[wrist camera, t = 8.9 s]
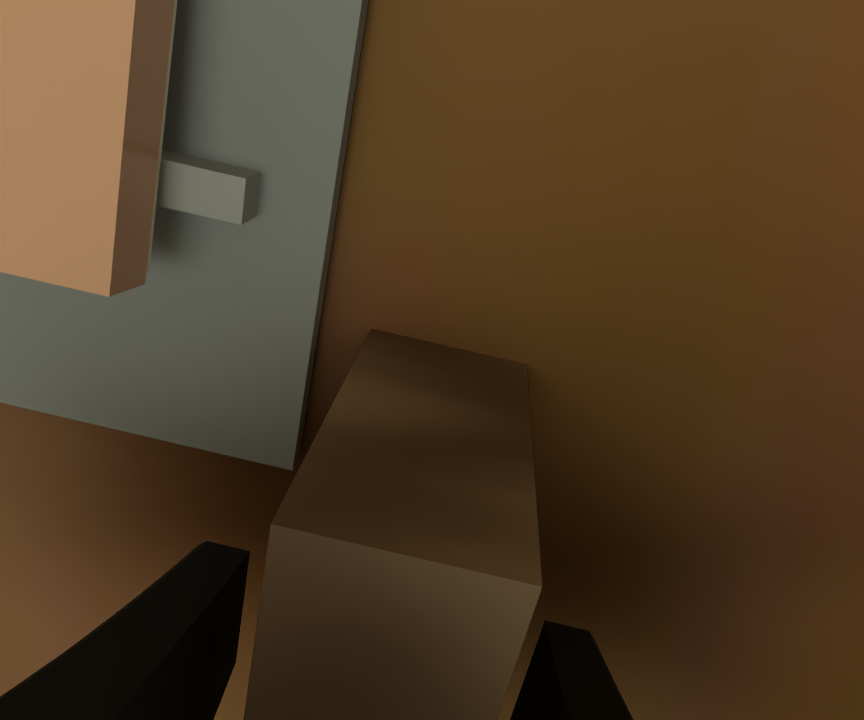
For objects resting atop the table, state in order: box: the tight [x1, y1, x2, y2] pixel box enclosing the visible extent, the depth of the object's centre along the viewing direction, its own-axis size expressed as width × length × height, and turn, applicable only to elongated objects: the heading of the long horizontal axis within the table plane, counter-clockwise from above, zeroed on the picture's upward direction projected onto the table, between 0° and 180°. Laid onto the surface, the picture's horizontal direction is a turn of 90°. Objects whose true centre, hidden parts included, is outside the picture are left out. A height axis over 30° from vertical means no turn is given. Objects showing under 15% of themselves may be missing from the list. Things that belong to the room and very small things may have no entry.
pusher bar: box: [244, 329, 542, 720], centre depth 10 cm, size 2×7×5 cm, turn 168°
